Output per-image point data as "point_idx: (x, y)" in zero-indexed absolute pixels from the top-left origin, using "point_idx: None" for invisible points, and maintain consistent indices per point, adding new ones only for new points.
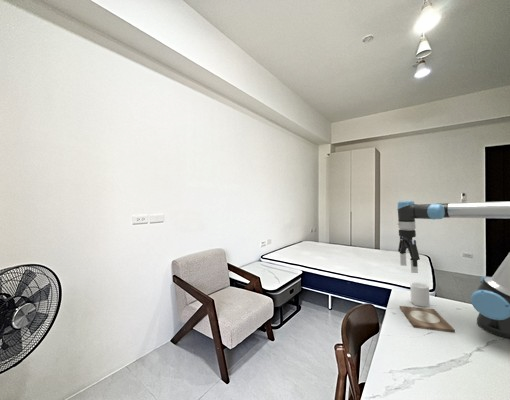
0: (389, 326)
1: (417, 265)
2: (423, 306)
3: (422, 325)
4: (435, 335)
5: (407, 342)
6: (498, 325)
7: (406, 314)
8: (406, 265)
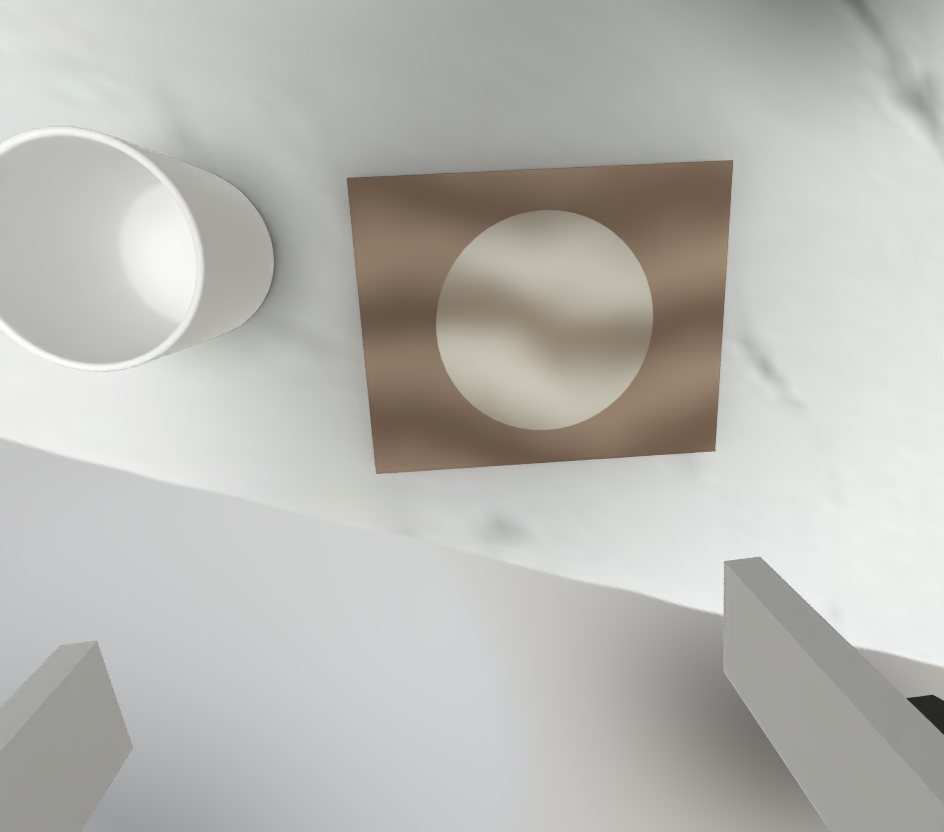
0: None
1: (896, 692)
2: (272, 247)
3: (710, 389)
4: (788, 329)
5: (900, 527)
6: None
7: (546, 458)
8: (94, 645)
